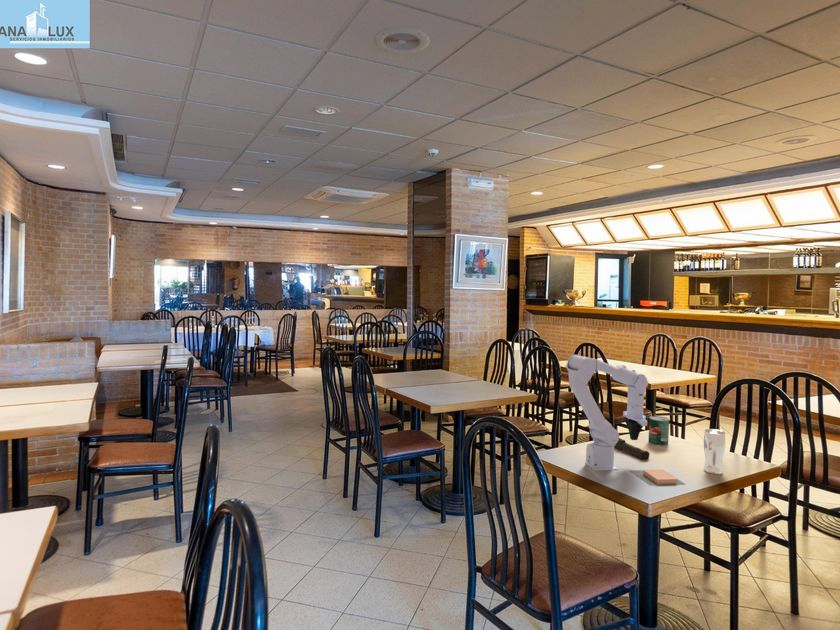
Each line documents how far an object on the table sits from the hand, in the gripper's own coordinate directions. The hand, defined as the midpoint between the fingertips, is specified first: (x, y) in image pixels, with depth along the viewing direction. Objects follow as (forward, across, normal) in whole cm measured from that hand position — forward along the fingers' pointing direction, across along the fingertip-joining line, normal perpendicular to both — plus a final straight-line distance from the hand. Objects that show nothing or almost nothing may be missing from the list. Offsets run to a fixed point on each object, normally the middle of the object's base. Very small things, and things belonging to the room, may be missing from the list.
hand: (633, 439), depth 196 cm
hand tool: (+10, +12, -4) cm, 16 cm away
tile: (+8, -12, -1) cm, 15 cm away
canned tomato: (+10, +25, -24) cm, 36 cm away
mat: (+9, -14, -1) cm, 17 cm away
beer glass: (+10, -9, -26) cm, 29 cm away
